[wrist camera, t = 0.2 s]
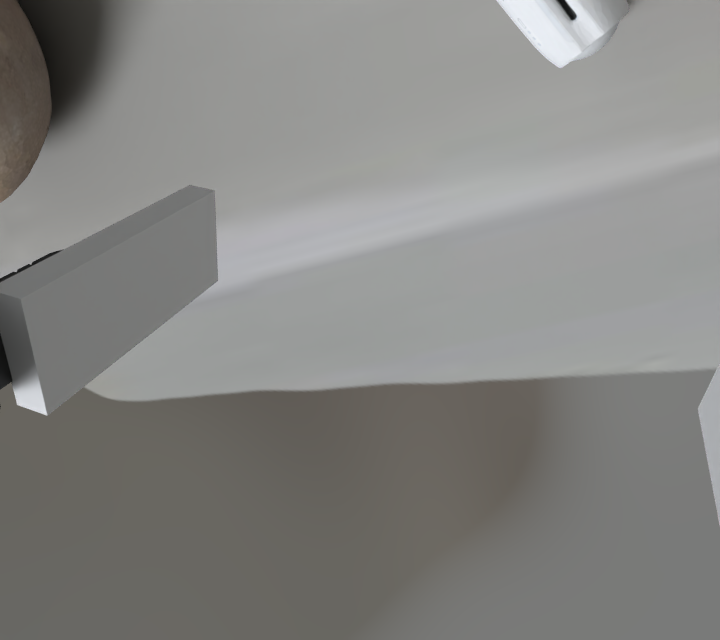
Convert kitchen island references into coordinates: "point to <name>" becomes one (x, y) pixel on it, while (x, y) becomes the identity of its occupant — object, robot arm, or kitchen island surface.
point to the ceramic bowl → (20, 97)
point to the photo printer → (566, 25)
